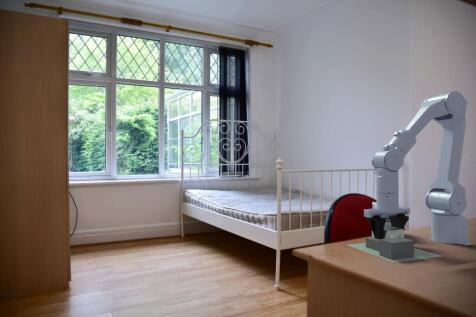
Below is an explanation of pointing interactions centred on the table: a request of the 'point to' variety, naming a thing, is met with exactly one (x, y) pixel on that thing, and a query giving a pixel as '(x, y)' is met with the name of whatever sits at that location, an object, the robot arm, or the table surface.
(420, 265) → the table surface
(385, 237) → the pale grey block
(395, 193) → the robot arm
